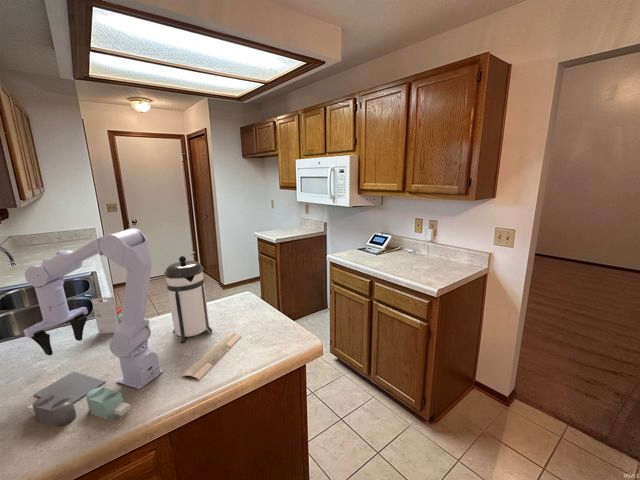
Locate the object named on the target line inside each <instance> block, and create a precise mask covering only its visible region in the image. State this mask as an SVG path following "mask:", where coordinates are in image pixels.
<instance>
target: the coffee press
mask: <svg viewBox="0 0 640 480" xmlns="http://www.w3.org/2000/svg"><path fill="white" fill-rule="evenodd" d="M163 276H164V278H165V280H166V283H165V286H166V290H167V293H168V300H169V305H170V312H171V313H170V314H171V318H172V323H173V330H172V333H173V334H175V335H177V336H179V337H180V339H179V343H180V344H185V343H186V341H187V339H188V337H194V336H197V335H200V334H202V333H203V332H205V333H206V334H207V335H211V334H212V333H213V328H211V327H210V321H209V313H208V304H207V297H206V296H207V295H206V289H205V276H204V266H202V265H201V263H200V262H199V261H196V260H187V258H186V257H185V255H181V256H179V257H178V261H177V262H174V263H171V264H170V265H168V266H167V267H166V268H165V270H164V272H163Z"/></svg>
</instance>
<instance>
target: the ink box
mask: <svg viewBox="0 0 640 480" xmlns="http://www.w3.org/2000/svg"><path fill="white" fill-rule="evenodd" d="M102 300H103V301H102ZM91 302H92V306H93V313H94V318H95V321H96V326H97V330H98V334H99V335H105V334H107V335H108V334H114V332H115V331H116V329H117V327H118V326H119V324H120V323H121V320H122V312H123V309H122V306H121V305H115V299H114V297H113V296H112V297H97V298H91Z"/></svg>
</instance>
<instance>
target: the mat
mask: <svg viewBox="0 0 640 480" xmlns="http://www.w3.org/2000/svg"><path fill="white" fill-rule="evenodd" d="M104 384H106V381H105V380H102V379H98V378H95V377H92V376H90V375H86V374H83V373H79V372H78V371H77V372H76V371H71V373H70V372H69V374H67V375H65V376H63V377H62V378H59V379H58V380H56V381H55V382H53V383H51V384H49V385H47V386H45V387H44V388H42V389H40V390H39V391H37V392H35V393H33V396H34V397H36V398H38V399H39V398H41V397H43V396H46V395H55V396H60V397H65V398H70V399H72V400H73V404H75V403H77V402H79V401H80V400H81V399H83V398H84V397H86V395H87V393H88V392H89V391H91V390H93V389H95V388H98V387H102V385H104Z"/></svg>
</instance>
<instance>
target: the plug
mask: <svg viewBox="0 0 640 480" xmlns="http://www.w3.org/2000/svg"><path fill="white" fill-rule="evenodd" d="M26 409H27V412H29V413H32V414H34V416H35V419H36V422H37V423H40V424H44V425H48V426H53V427H59V428H62V427H65V426H68V425H69V424H71V423H73V421H74V420H76V418H77V412H76V409H75V403H73V400H72V399H70V398H65V397H60V396H55V395H46V396H43V397H41V398H39V397H38V398H37V399H36V400H35V401H33V402H32V404H30V405H28V406H26Z"/></svg>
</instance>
